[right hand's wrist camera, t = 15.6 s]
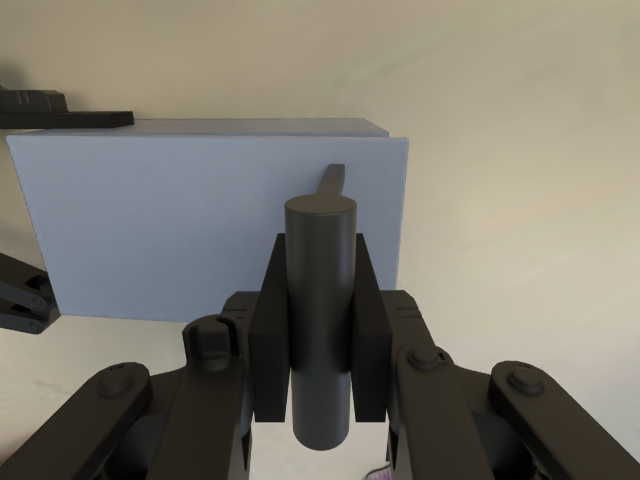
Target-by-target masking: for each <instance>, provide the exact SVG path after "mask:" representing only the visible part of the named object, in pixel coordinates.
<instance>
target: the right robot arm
mask: <svg viewBox="0 0 640 480" xmlns="http://www.w3.org/2000/svg"><path fill="white" fill-rule="evenodd" d="M182 335H183V341H184V347H185V353H186V359H187V363H186V366H184V367H182V368H180V369H177V370H174V371H170V372H166V373H161V374H157V375H153V376H150V375H149V370H148V369H147V368H146V367H145V366H144V365H143V364H139V363H136V362H125V363H120V364H116V365H112V366H109V367H107V368H105V369H103V370H101V371H99V372H98V373H96V374H95V375H94V376H92V377H91V378H90V379H89V380H87V381H86V382H85V383H84V384H83V385H82V386H81V387H80V388H79V389H78V390H77V391H76V392H75V393H74V394H73V395H72V396H71V397H70V398H69V399H68V400H67V401H66V402H65V403H64V404H63V405H62V406H61V407H60V408H59V409H58V410H57V411H56V412H55V413H54V414H53V415H52V416H51V417H50V418H49V419H48V420H47V421H46V422H45V423H44V424H43V425H42V426H41V427H40V428H39V429H38V430H37V431H36V432H35V433H34V434H33V435H32V436H31V437H30V438H29V439H28V440H27V441H26V442H25V443H24V444H23V445H22V446H21V447H20V448H19V449H18V450H17V451H16V452H15V453H14V454H13V455H12V456H11V457H10V458H9V459H8V460H7V461H6V462H5V463H4V464H3V465H2V466H1V467H0V480H249V470H250V459H251V448H252V432H251V421H252V417H253V412H254V415H255V422H285V413H286V404H287V394H288V385H289V376H290V366H291V364H290V339H289V313H288V288H287V263H286V238H285V233H278V234H277V237H276V240H275V244H274V247H273V250H272V254H271V257H270V260H269V264H268V267H267V270H266V274H265V277H264V280H263V284H262V287H261V290H260V291H236V292H235V293H234V294H233V295H231V296H230V297H229V298H228V299H227V300H226V302H225V304H224V306H223V309H222V311H221V313H220V314H213V315H207V316H204V317H201V318H198V319H195V320H194V321H192V322H191V323H189V324H188V325H187V326H186V327H185V328H184V330H183V331H182ZM350 373H351V382H352V391H353V400H354V410H355V419H356V422H385V419H386V408H387V413H388V418H389V432H388V442H387V453H386V461H389V462H390V470H391V480H640V464H639V463H638V462H637V461H636V460H635V459H634V458H633V457H632V456H631V455H630V454H629V453H628V452H627V451H626V450H625V449H624V448H623V447H622V446H621V445H620V444H619V443H618V442H617V441H616V440H615V439H614V438H613V437H612V436H611V435H610V434H609V433H608V432H607V431H606V430H605V429H604V428H603V427H602V426H601V425H600V424H599V423H598V422H597V421H596V420H595V419H594V418H593V417H592V416H591V415H590V414H589V413H588V412H587V411H586V410H584V409H583V408H582V407H581V406H580V405H579V404H578V403H577V402H576V401H575V400H574V399H573V398H572V397H571V396H570V395H569V394H568V393H567V392H566V391H565V390H564V389H563V388H562V387H561V386H560V385H559V384H558V383H557V382H556V381H555V380H554V379H553V378H552V377H551V376H549V375H548V374H547V373H545V372H544V371H543V370H541V369H539V368H537V367H535V366H532V365H530V364H527V363H523V362H519V361H503V362H500V363H497V364H496V365H495V366H494V367H493V368H492V372H491V375H490V374H486V373H481V372H477V371H472V370H468V369H465V368H462V367H459V366H457V365H455V364H454V362H453V360H452V359H451V357H450V356H449V354H448V353H447V352H445V351H444V350H443V349H441V348H440V347H437V346H435V344H434V342H433V339H432V337H431V335H430V333H429V330H428V328H427V326H426V324H425V322H424V319H423V318H422V315H421V313H420V311H419V310H418V306H417V304H416V302H415V300H414V298H413V297H412V296H410V295H409V294H408V293H407V292H405V291H404V290H380V289H379V286H378V283H377V279H376V276H375V273H374V269H373V266H372V263H371V259H370V256H369V253H368V249H367V246H366V243H365V239H364V236H363V233H356V254H355V281H354V292H353V313H352V340H351V366H350Z"/></svg>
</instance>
